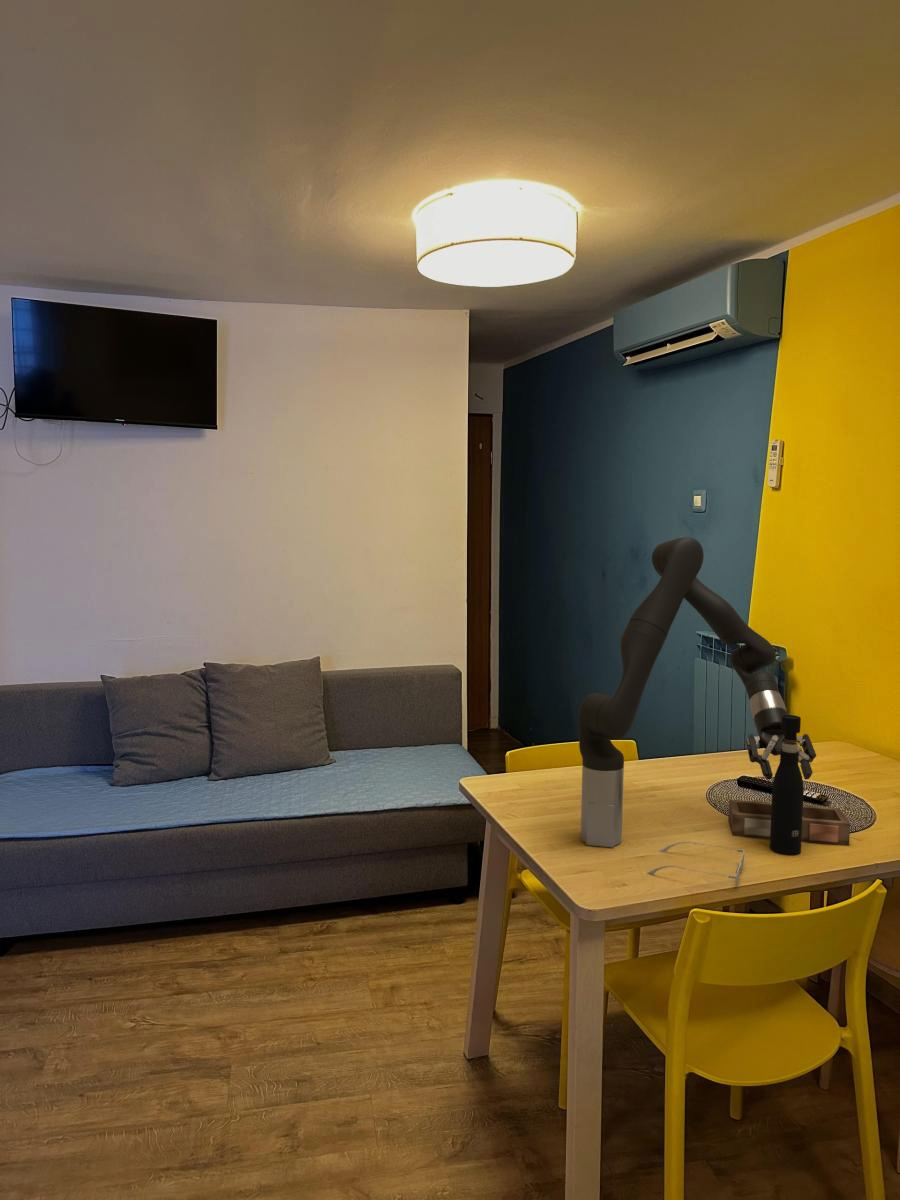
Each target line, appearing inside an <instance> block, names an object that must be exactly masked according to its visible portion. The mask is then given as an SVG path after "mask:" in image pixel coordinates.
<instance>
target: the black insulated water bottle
mask: <svg viewBox="0 0 900 1200" xmlns="http://www.w3.org/2000/svg"><path fill="white" fill-rule="evenodd" d="M801 719H802V717H801V716H798V715H794V714H788V715H783V716H782V723H781V731H783V732H784V740H785V742H783V744H782V746H783V747H782V750H781V751H780V755H779V764H778V766H777V769H776V771H775V773H774V776H773V777H774V778H773V782H772V790H771V803H772V807H771V829H770V839H769V849H770V850H771V851H772V852H773V853H776V854H779V855H784V856H797V855H800V854H801V852H802V841H801V837H802V816H803V805H804V794H805V793H804V790H805V786H804V780H803V774H802V773H801V772H802V770H801V767H800V764H799V752H798V751H797V750H798V748H797V747H798V746H799V744H798V742H796V741H797V739H796V738H797V734H800V733H801V724H802V723H801ZM795 742H796V743H795Z"/></svg>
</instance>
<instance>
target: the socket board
mask: <svg viewBox="0 0 900 1200" xmlns="http://www.w3.org/2000/svg"><path fill="white" fill-rule="evenodd" d="M771 807H772V802H767V801H766V802H764V801H754V800H753V801H752V800H742V799H741V800H739V799H728V815H727V816H728V823H729V827H730V831H731V834H732V835H731V836H736V837H737V836H738V837H747V838H759V839H760V838H761V839H769V840H770V829H771ZM850 833H851V823H850V821H849V820H848V818H847V817H846V815H845V814H844V813H843V811H842V809H841V808H839V807H830V806H818V805H816V806H815V805H805V804H803V816H802V837H801V842H806V843H817V844H826V845H827V844H829V845H837V846H838V845H840V846H850V838H851V837H850V835H851V834H850Z"/></svg>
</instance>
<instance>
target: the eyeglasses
mask: <svg viewBox="0 0 900 1200" xmlns="http://www.w3.org/2000/svg"><path fill="white" fill-rule="evenodd" d="M680 844H694V845H697V844H698V845H704V846H707V844H705V843H699V842H693V841H680V842H676V843H672V844H670V845H667V846H665V847H663V848H661V849H659V850H658V853H666V852H668V850H669V849H670V848H672V847H675V846H676V845H680ZM708 846H709V847H713V845H712V844H708ZM714 847H716V848H721V849H728V850H733V851H737V853H742V855H741V858H740V862H739V863H738V864H737V868H736V870H735V874H734V875H730V874H729V875H727V874H726V875H724V874H719V873H713V872H706V871H702V870H696V869H691V868H687V867H681V866H678V865H677V866H676V865H664V866H659V867H656V868H652V869H651V870H649V871H647V872H646V875H649V876H654V875H655V873H657V871H660V870H662V869H666V868H678V869H683V870H688V871H689V870H690V871H694V872H695V871H696V872H700V873H705V874H711V875H716V876H722V877H727V878H729V879H732V880H733V879H734V880H735V885H734V886H735V888H738V885H739V881H740V875H741V874H742V871H743V867H744V864H745V863H744V862H745V850H744V849H739V848H737V849H735V848H734V849H733V848H729V847H728V848H727V847H723V846H719V845H718V846H716V845H714Z"/></svg>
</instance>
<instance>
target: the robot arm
mask: <svg viewBox="0 0 900 1200" xmlns="http://www.w3.org/2000/svg"><path fill="white" fill-rule="evenodd" d="M651 562H652V566H653V569H654V570H655V572H656V573H657V574H658V575H659V577H661V578H660V579H659V581H658V583H657V585H656V586H655V587H654V589H653V590H651V592H650V593H649V594H648V595H647V596H646V597H645V598H644V600H643V601H642V602H641V603H640V605H639V604H638V606H637V608H636V609H635V610H634V612H633V613H632V615H631V616H630V618H629V620H628V622H627V624H626V626H625V629H624V631H623V632H622V633H623V634H622V635H621V638H620V647H619V649H620V658H621V663H622V664H621V665H622V674H621V679H620V681H619V684H618V687H617V688H616V691H615V693H614V695H613V696H612V695H608V694H604V693H598V692H597V693H596V692H592V693H590V694H588V695H587V696H586V697H584V698H583V700H582V702H581V704H580V707H579V711H578V740H579V741H578V743H579V744H578V747H579V753H580V755H581V758H582V762H581V763H582V764H581V765H582V769H581V770H582V772H581V773H582V774H581V806H580V807H581V809H580V840H581V841H582V842H583V843H585V845H587V846H595V847H604V848H605V847H606V848H615V846H618V845H619V844H621V843H622V841H623V840H622V839H623V811H624V810H623V806H624V805H623V803H624V799H623V798H624V776H625V775H624V769H625V767H624V766H625V757H624V754H623V753H622V751H621V750H619V749H618V748H617V747H616V746H615V745H614V744H613V743H612V741H611V740H620V739H622V738H624V737H625V736H627V734H628V733H629V731H630V730H631V728H632V726H633V723H634V721H635V718H636V716H637V713H638V709H639V706H640V703H641V700H642V697H643V693H644V690H645V688H646V685H647V683H648V680H649V678H650V675H651V673H652V670H653V667H654V666H655V663H656V661H657V660H658V659H657V658H658V657H659V655H660V653H661V650H662V648H663V647H664V644H665V642H666V640H667V637H668V634H669V632H670V630H671V627H672V625H673V622H674V620H675V619H676V616H677V614H678V612H679V610H680V608H681V604H682V602H683V600H685V601H686V602H687V603H689V605H690V606H691V607H692V608H693V609H695V611H696V612H697V613H698V614H699V615H700V616H701V617H702V618H703V620H704V621H705V623H707V625H708V626H709V628H711V630H712V631H713V632H714V634H716V635H715V636H717V638H718V639H719V640H720V641H721V643H723V644H724V645H725V646H734V645H741V644H742V645H741V646H739V647H737V648H735V649H733V651H732V652H731V654H730V657H729V662H730V663H729V664H730V665H731V667H732V668H733V670H734V671H735V672H736V674H737V675H738V677H739V679H740V680H741V682H742V684H743V685H744V688H745V690H746V694H747V697H748V700H749V705H750V710H751V711H750V712H751V717H752V718H753V721H754V725H755V729H756V732H757V736H755V735H754V734H753V733H749V735H748V736H747V738H746V740H745V744H746V748H747V749H746V750H747V754H748V758H749V761H750V763H757V764H759V766H760V770H761V773H762V776H763V777H764V778H765V779H766V780H771V779H772V777H774V776H773V771H772V768H771V767H772V766H771V764H770V761H769V759H768V757H770V754H771V755H772V756H776V757H777V756H780V751H781V750H782V747H783V746H782V744H783V742H785V740H784V732H783V731H781V723H782V716H783V715H789V714H788V711H787V708H786V704H785V702H784V700H783V697H782V696H781V693H780V690H779V687H778V686H779V685H778V684H777V680H776V678H775V676H774V675H773V674H772V673H770V672H768V671H767V672H766V671H760V670H763V669H765V668H767V667H769V666H772V665H773V664H774V663H775V662H776V659H777V653H776V650H775V648H774V645H772V643H770V642H769V640H767V639H766V638H765V637H764V636H762V635H761V634H759V633H757V631H755V630H754V629H752V628H751V627H750V626H749V625H747V623H746V622H745V621H744V619H742V617H741V616H740V614H738V612H737V611H736V610H735V608H734V607H733V606H732V605H731V604H730V603H729V602H728V601H727V600H726V599H724V598H723V597H722V596H721V595H719V594H718V593H716V592H714V591H713V590H712V589H710V588H709V587H708V586H707V585H705V584H704V583H702V581H700V580H699V578H698V575H699V572H700V570H701V569H702V566H703V562H704V549H703V546H702V544H701V543H700V542H699V541H698V539H696V538H693V537H691V536H690V537H689V536H688V537H687V536H685V537H678V538H675V539H672V540H671V539H670V540H668V541H664V542H661V543H659V544H658V545H657V546H656V547H655V548H654V549H653V551H652V555H651ZM759 671H760V672H759ZM796 739H797V741H796V742H795V743H797V744H798V747H797V748H798V750H797V751H798V752H799V762H798V764H799V767H800V771H801V772H802V773H801V774H802V777H803V778H804V780H810V778H811V777H812V775H813V770H812V769H813V768H812V767H811V763H812V762H813V761H814V759H815V758H817V753H816V750H815V748H814V745H813V744H812V741H811V739H810V736H809V735H808V734H807V733H804V734H803V735H801V736H800V735H799V736H797V738H796ZM758 744H760V745H761V747H763V748H764V750H763V753H762V754H759V752H758Z"/></svg>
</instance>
